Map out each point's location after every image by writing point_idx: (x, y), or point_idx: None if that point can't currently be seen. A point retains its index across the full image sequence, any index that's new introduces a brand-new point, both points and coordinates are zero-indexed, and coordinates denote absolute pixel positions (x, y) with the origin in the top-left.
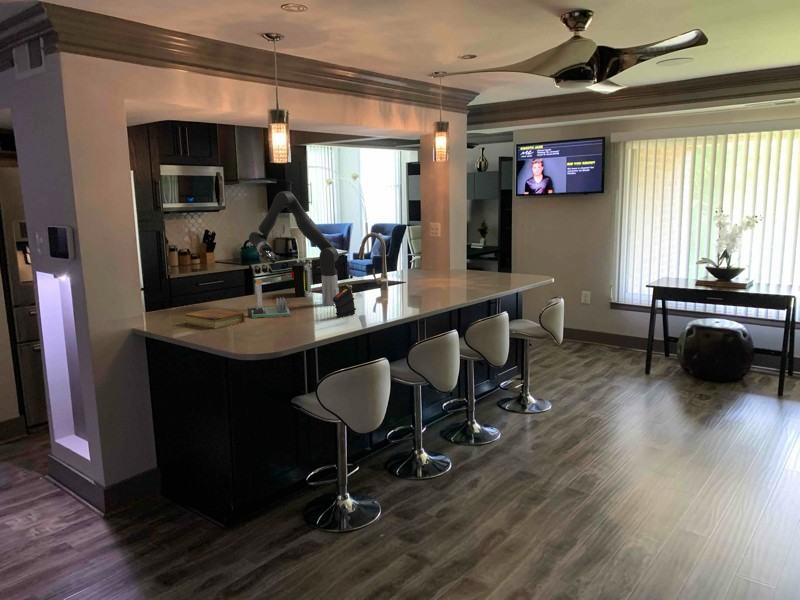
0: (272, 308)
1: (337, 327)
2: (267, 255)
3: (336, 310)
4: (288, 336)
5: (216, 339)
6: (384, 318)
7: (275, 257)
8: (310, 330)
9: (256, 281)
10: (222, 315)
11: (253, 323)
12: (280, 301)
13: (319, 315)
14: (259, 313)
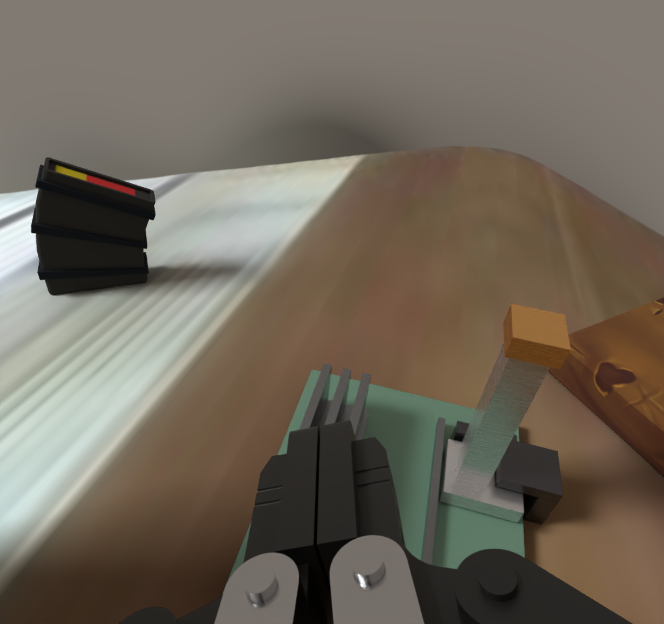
0: None
1: (250, 197)
2: (498, 554)
3: (142, 257)
4: (412, 191)
5: (609, 236)
6: None
7: (174, 617)
8: (336, 204)
9: (556, 316)
10: (660, 328)
11: None
12: None
13: (182, 334)
14: None
